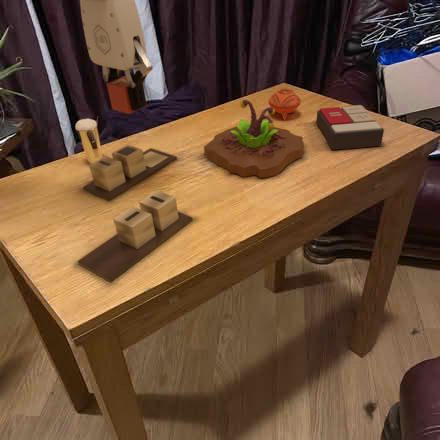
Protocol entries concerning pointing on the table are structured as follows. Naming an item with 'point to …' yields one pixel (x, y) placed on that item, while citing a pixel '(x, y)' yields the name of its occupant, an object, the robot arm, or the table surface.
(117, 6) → the robot arm
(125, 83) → the letter block
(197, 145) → the table surface
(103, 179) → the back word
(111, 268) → the front word
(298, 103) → the pot
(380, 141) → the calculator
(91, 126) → the beer glass
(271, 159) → the plant
